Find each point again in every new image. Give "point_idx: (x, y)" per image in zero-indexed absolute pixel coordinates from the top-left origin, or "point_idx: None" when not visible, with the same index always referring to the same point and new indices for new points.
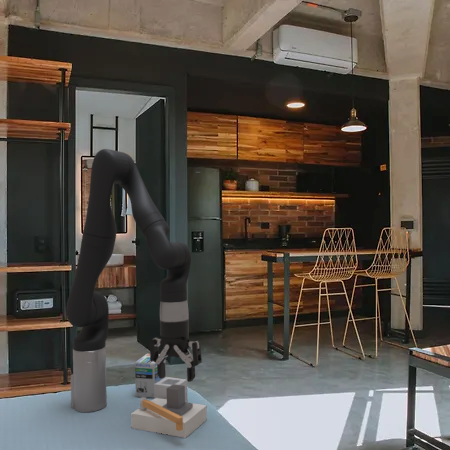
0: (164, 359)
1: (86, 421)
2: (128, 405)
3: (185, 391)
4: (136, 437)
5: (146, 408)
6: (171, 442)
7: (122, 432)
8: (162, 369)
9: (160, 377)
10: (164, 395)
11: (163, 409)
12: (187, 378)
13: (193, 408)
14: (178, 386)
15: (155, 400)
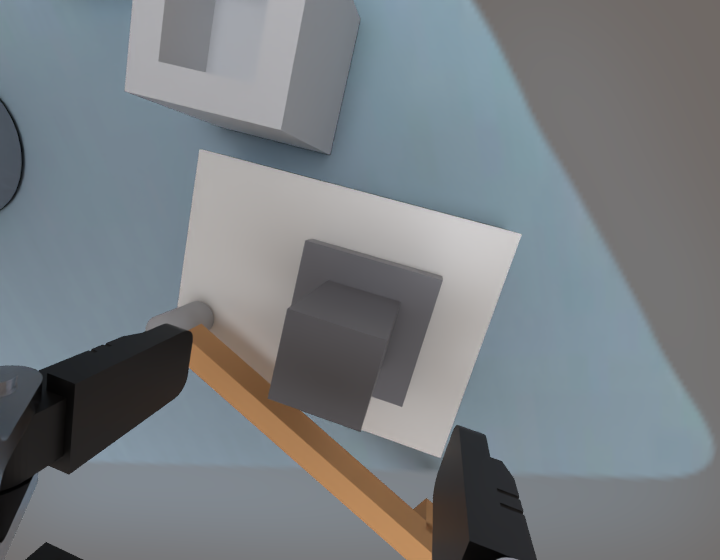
0: (19, 429)
1: (38, 291)
2: (98, 108)
3: (337, 4)
4: None
5: (212, 318)
6: (393, 449)
7: (194, 374)
8: (124, 410)
9: (169, 395)
10: (235, 125)
11: (319, 469)
12: (435, 514)
13: (448, 286)
14: (341, 357)
15: (212, 191)
